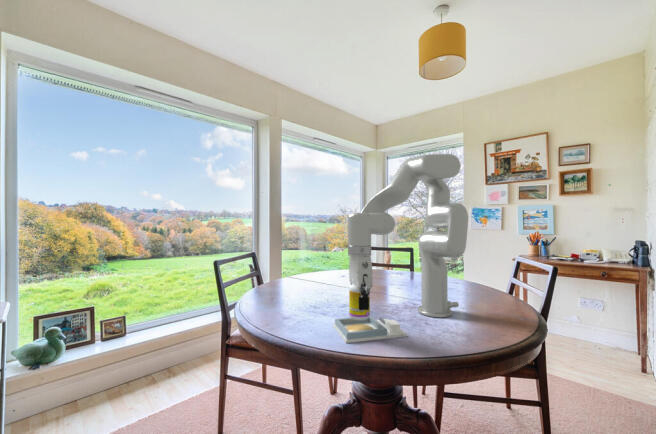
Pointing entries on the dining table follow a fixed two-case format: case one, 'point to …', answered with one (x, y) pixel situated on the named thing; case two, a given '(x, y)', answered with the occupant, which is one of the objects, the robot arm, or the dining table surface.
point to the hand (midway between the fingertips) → (359, 305)
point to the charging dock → (367, 329)
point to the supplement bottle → (357, 304)
